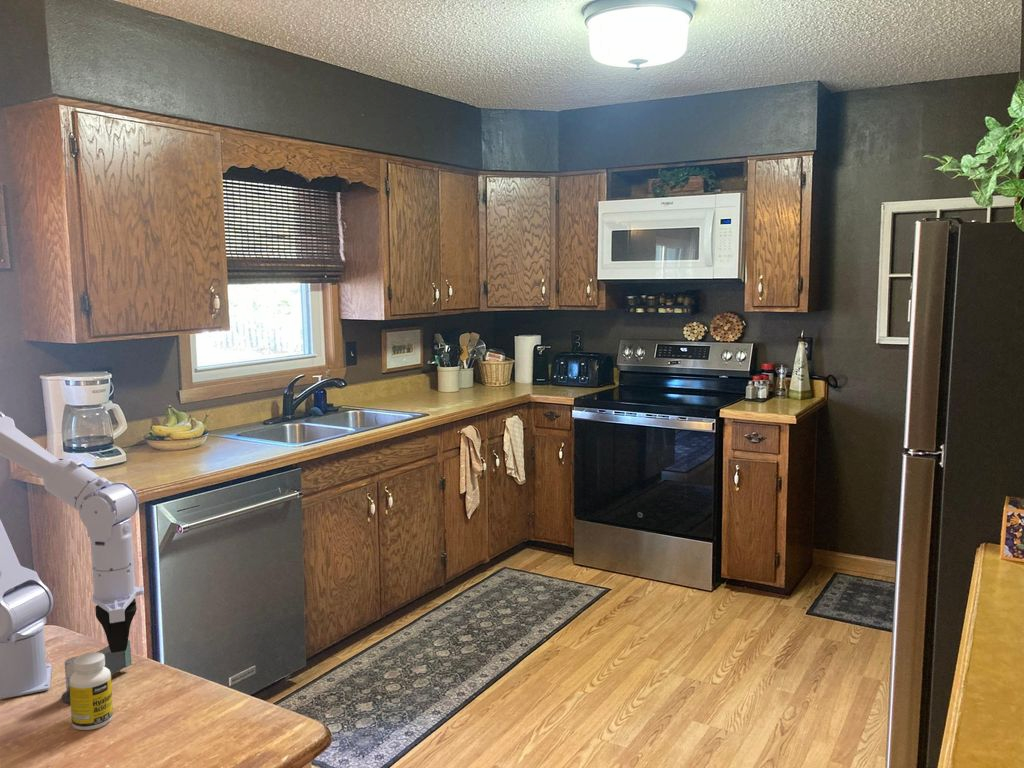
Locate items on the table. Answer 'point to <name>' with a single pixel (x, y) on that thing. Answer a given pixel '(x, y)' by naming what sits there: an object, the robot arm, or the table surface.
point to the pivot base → (66, 698)
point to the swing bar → (112, 662)
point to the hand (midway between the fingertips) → (118, 650)
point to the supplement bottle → (90, 692)
